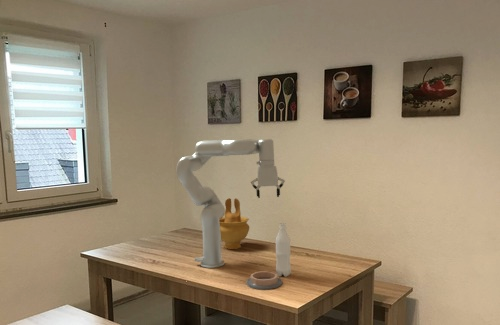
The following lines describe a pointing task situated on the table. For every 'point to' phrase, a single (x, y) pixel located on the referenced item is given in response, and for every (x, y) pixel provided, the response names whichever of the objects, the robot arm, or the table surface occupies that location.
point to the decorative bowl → (233, 226)
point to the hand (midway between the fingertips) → (268, 197)
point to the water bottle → (283, 252)
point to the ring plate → (264, 280)
